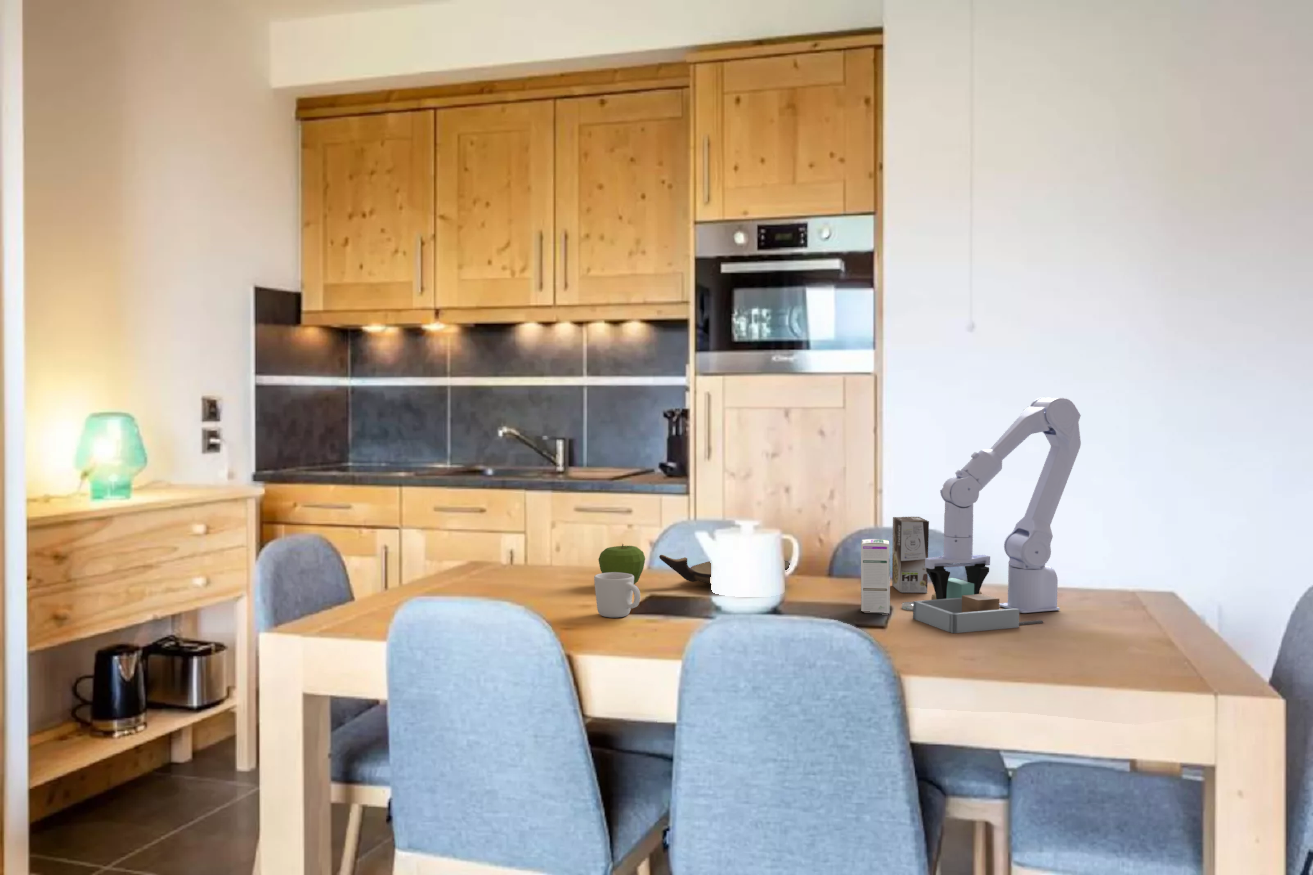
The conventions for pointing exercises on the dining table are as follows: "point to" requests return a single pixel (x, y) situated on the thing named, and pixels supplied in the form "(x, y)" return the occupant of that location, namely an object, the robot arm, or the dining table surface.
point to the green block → (959, 588)
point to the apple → (622, 560)
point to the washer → (907, 606)
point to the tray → (962, 616)
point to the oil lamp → (693, 569)
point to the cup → (615, 594)
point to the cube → (979, 603)
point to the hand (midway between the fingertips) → (957, 601)
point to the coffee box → (910, 554)
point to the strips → (1030, 622)
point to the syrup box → (875, 575)
